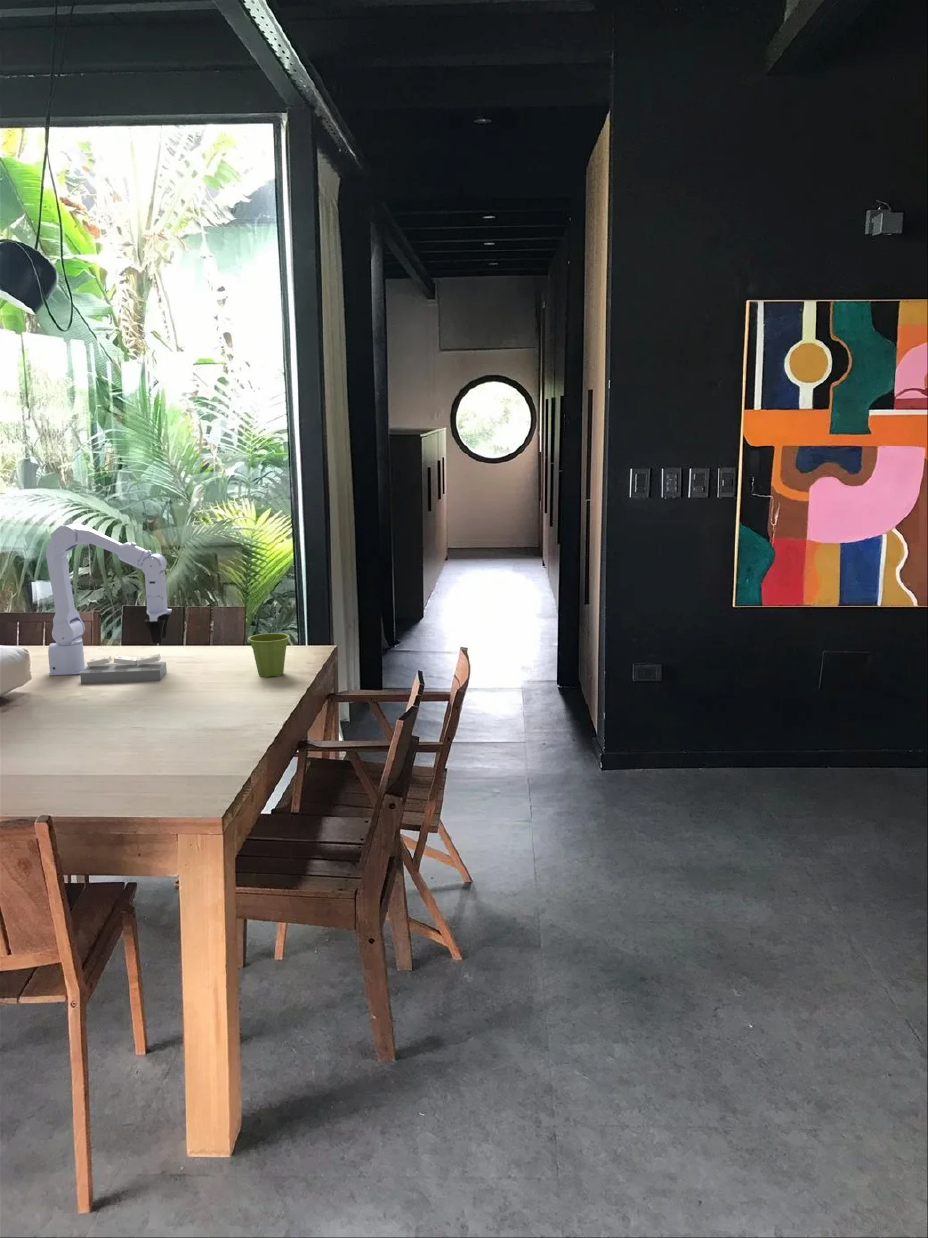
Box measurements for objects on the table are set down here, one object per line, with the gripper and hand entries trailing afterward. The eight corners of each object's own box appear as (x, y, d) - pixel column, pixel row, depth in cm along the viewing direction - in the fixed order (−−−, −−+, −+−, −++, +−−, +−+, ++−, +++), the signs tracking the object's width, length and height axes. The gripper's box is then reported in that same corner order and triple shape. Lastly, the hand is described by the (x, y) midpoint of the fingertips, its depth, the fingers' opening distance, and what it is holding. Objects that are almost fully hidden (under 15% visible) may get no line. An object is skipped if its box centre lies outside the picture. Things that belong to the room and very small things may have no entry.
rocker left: (87, 667, 281) (86, 662, 281) (90, 664, 284) (89, 659, 284) (108, 663, 281) (107, 658, 281) (111, 660, 285) (110, 655, 284)
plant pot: (295, 669, 290) (294, 632, 288) (284, 680, 278) (283, 641, 276) (257, 669, 291) (255, 632, 289) (244, 679, 280) (242, 641, 277)
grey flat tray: (81, 683, 276) (80, 672, 276) (89, 674, 286) (88, 664, 285) (160, 680, 279) (159, 669, 278) (166, 671, 289) (165, 661, 288)
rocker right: (137, 665, 283) (136, 660, 282) (140, 662, 286) (139, 657, 286) (158, 661, 283) (157, 656, 283) (160, 658, 287) (159, 653, 286)
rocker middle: (113, 662, 282) (114, 658, 281) (116, 660, 285) (116, 655, 285) (135, 665, 282) (135, 660, 282) (137, 662, 286) (137, 657, 286)
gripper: (166, 599, 278) (169, 645, 281) (174, 590, 292) (177, 634, 295) (140, 600, 277) (144, 646, 280) (150, 591, 291) (153, 635, 294)
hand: (159, 640), depth 287 cm, fingers open, 7 cm apart
